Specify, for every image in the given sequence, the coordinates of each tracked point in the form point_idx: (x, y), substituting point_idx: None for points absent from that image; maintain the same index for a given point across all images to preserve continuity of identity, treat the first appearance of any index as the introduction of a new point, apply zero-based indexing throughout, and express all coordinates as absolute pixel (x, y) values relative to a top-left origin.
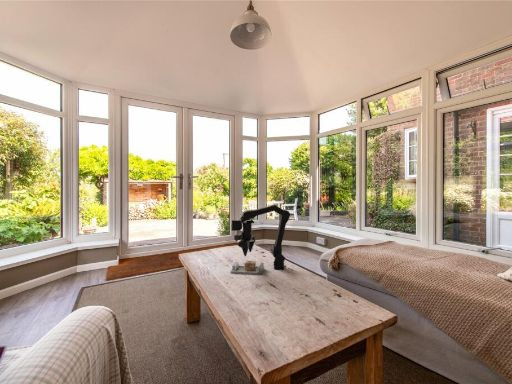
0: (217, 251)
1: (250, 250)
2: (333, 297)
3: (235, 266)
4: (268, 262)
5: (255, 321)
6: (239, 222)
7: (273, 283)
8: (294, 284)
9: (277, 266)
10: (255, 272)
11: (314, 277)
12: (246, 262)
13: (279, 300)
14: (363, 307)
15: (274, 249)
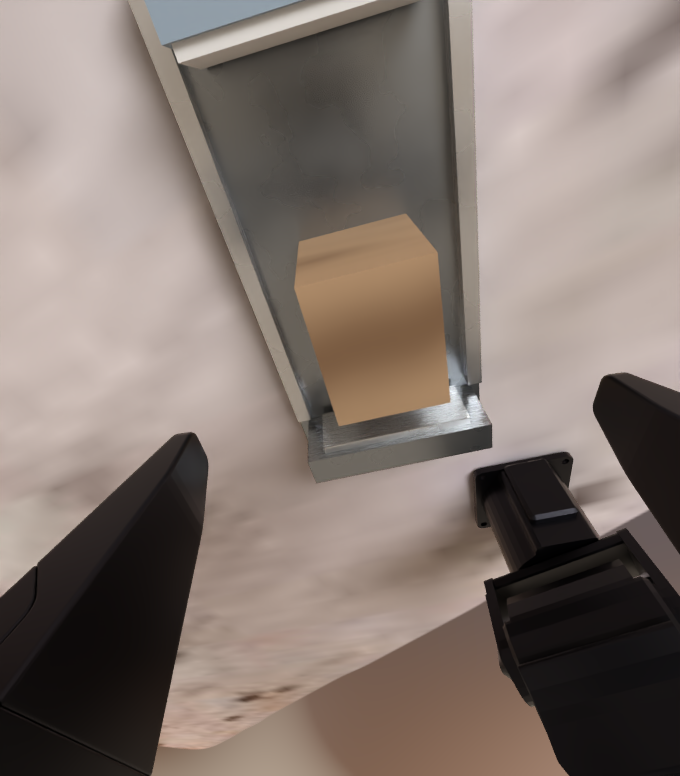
0: None
1: (624, 438)
2: (220, 694)
3: (187, 62)
4: None
5: None
6: None
7: (201, 542)
8: (259, 609)
9: (492, 512)
10: (290, 394)
11: (397, 638)
12: (328, 304)
13: None
14: (204, 728)
15: (553, 737)
